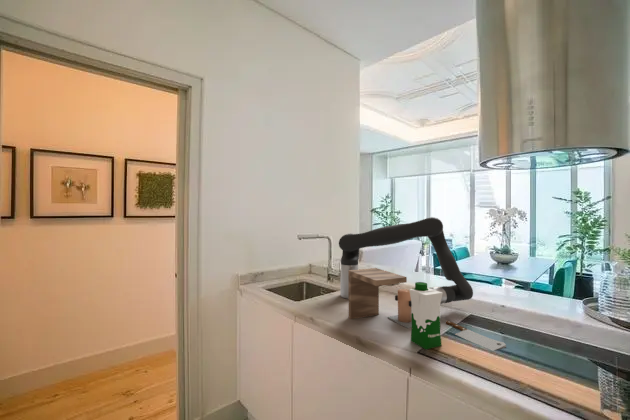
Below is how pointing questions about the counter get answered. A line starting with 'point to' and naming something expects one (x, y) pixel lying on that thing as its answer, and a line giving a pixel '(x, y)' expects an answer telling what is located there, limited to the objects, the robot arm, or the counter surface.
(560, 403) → the counter surface
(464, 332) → the kitchen cleaver
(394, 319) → the slate mat
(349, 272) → the walnut shelf
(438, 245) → the robot arm
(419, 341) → the milk carton
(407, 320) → the peach cylinder
